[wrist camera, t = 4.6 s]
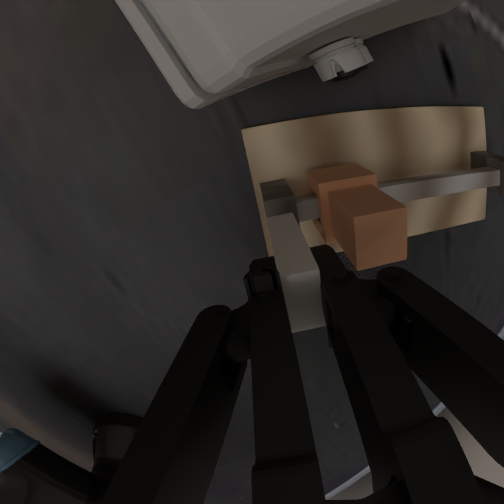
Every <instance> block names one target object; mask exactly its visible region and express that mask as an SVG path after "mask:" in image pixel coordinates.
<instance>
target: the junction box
mask: <svg viewBox="0 0 504 504" xmlns="http://www.w3.org/2000/svg"><path fill="white" fill-rule="evenodd" d="M463 1H464V0H115V2H116V3H117V5H118V6H119V8H120V9H121V11H122V12H123V14H124V15H125V17H126V18H127V20H128V21H129V23H130V24H131V26H132V27H133V29H134V30H135V32H136V34H137V35H138V37H139V38H140V40H141V41H142V43H143V44H144V46H145V47H146V49H147V51H148V52H149V54H150V55H151V57H152V58H153V60H154V61H155V63H156V65H157V66H158V68H159V69H160V71H161V72H162V74H163V76H164V77H165V79H166V80H167V82H168V83H169V85H170V87H171V88H172V90H173V91H174V93H175V94H176V96H177V97H178V98H179V99H180V100H181V102H182V103H183V104H184V105H186V106H187V107H189V108H193V109H201V108H203V107H206V106H208V105H210V104H212V103H215V102H217V101H219V100H221V99H224V98H226V97H228V96H231V95H233V94H236V93H238V92H241V91H243V90H246V89H248V88H251V87H253V86H256V85H259V84H261V83H264V82H267V81H269V80H272V79H275V78H278V77H281V76H284V75H287V74H290V73H293V72H296V71H299V70H302V69H305V68H308V67H310V66H312V65H313V66H314V67H315V69H316V71H317V73H318V74H319V76H320V78H321V80H322V82H324V81H327V80H329V79H331V80H332V81H333V82H340V81H344V80H347V79H349V78H351V77H354V76H355V75H357V74H359V73H360V72H361V71H363V70H365V69H366V68H367V67H368V65H367V64H368V63H369V62H371V61H374V60H373V58H372V56H371V54H370V53H369V51H368V49H367V47H366V46H364V45H363V43H364V42H363V40H365V39H368V38H370V37H373V36H375V35H378V34H381V33H384V32H386V31H389V30H392V29H395V28H398V27H401V26H404V25H407V24H410V23H413V22H416V21H420V20H423V19H426V18H430V17H433V16H437V15H441V14H445V13H448V12H449V11H450V10H452V9H453V8H455V7H456V6H457V5H459V4H460V3H461V2H463Z"/></svg>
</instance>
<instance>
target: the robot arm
mask: <svg viewBox="0 0 504 504" xmlns="http://www.w3.org/2000/svg"><path fill="white" fill-rule="evenodd" d="M266 221H267V225H268V230H269V235H270V240H271V245H272V249H273V254H274V256H270V257H265V258H261V259H256V260H253V261H252V263H251V264H250V266H249V268H250V271H249V272H248V273H247V274H246V275H245V276H244V283H245V287H246V291H247V294H248V302H247V303H246V304H244V305H243V306H241V307H239V308H237V309H235V310H232V311H231V310H230V308H229V307H227V306H225V305H214V306H210V307H208V308H206V309H204V310H203V311H201V312H200V313H199V315H198V316H197V318H196V320H195V321H194V323H193V325H192V327H191V329H190V331H189V333H188V334H187V336H186V338H185V340H184V342H183V344H182V346H181V348H180V349H179V351H178V353H177V355H176V357H175V359H174V361H173V363H172V365H171V366H170V368H169V370H168V372H167V374H166V376H165V378H164V380H163V382H162V384H161V385H160V387H159V389H158V391H157V393H156V395H155V397H154V399H153V401H152V403H151V405H150V407H149V408H148V410H147V412H146V414H145V416H144V418H143V419H142V418H139V417H135V416H130V415H124V414H107V415H103V416H101V417H99V418H98V419H97V420H96V423H95V425H94V428H93V432H92V437H93V455H94V465H93V469H92V472H89V471H87V470H85V469H83V468H81V467H79V466H77V465H75V464H74V463H72V462H70V461H68V460H67V459H65V458H63V457H61V456H60V455H58V454H56V453H55V452H53V451H51V450H50V449H48V448H47V447H45V446H44V445H42V444H40V441H38V440H34V439H33V438H31V437H29V436H28V435H26V434H25V433H23V432H21V431H20V430H18V429H15V428H9V429H7V430H5V431H4V432H3V434H2V435H1V436H0V504H203V503H204V500H205V497H206V494H207V491H208V488H209V485H210V482H211V479H212V476H213V473H214V470H215V466H216V463H217V460H218V457H219V454H220V451H221V448H222V445H223V442H224V438H225V435H226V432H227V429H228V426H229V422H230V419H231V416H232V413H233V410H234V406H235V403H236V400H237V396H238V393H239V390H240V387H241V383H242V380H243V377H244V373H245V370H246V367H247V360H248V359H250V358H251V369H252V391H253V412H254V433H255V454H256V462H255V465H254V466H253V467H252V503H253V504H504V488H503V487H500V486H498V485H496V484H493V483H491V482H489V481H486V480H484V479H482V478H480V477H478V476H475V475H474V474H473V472H472V470H471V467H470V465H469V463H468V460H467V458H466V456H465V454H464V452H463V449H462V447H461V446H460V443H459V441H458V439H457V437H456V435H455V433H454V431H453V429H452V427H451V425H450V424H449V422H448V420H446V419H445V418H444V417H436V416H435V415H434V414H433V412H432V410H431V408H430V406H429V404H428V402H427V400H426V398H425V396H424V394H423V392H422V390H421V388H420V386H419V385H418V383H417V381H416V379H415V377H414V375H413V373H412V371H413V372H414V373H415V374H416V375H417V376H418V377H419V378H420V379H421V380H422V381H423V382H424V383H425V385H426V386H427V387H428V388H429V389H430V390H431V391H432V392H433V393H434V394H435V395H436V396H437V397H438V398H439V400H440V401H441V402H442V403H443V404H444V405H445V406H446V407H447V408H448V409H449V410H450V411H451V412H452V414H453V415H454V416H455V417H456V418H457V419H458V420H459V421H460V422H461V423H462V425H463V426H464V427H465V428H466V429H467V430H468V431H469V432H470V433H471V435H472V436H473V437H474V438H475V439H476V440H477V441H478V442H479V444H480V445H481V446H482V447H483V448H484V449H485V450H486V452H487V453H488V454H489V455H490V456H491V457H492V458H493V459H494V460H495V461H496V462H497V463H498V464H500V465H501V466H502V467H504V340H502V339H501V338H500V337H499V336H497V335H496V334H495V333H493V332H492V331H491V330H490V329H488V328H487V327H486V326H484V325H483V324H482V323H480V322H479V321H478V320H476V319H475V318H474V317H472V316H471V315H470V314H468V313H467V312H465V311H464V310H463V309H461V308H460V307H459V306H457V305H456V304H454V303H453V302H452V301H450V300H449V299H448V298H446V297H445V296H443V295H442V294H440V293H439V292H438V291H436V290H435V289H433V288H432V287H430V286H429V285H428V284H426V283H425V282H423V281H422V280H420V279H419V278H417V277H416V276H414V275H413V274H411V273H410V272H408V271H407V270H405V269H403V268H400V267H387V268H384V269H382V270H380V271H379V272H378V273H377V279H371V280H363V279H358V278H357V276H356V275H355V274H354V273H353V272H352V271H349V270H346V268H345V267H344V265H343V264H342V262H341V260H340V259H339V257H338V255H337V254H336V252H335V251H334V249H333V248H332V247H330V246H329V245H327V244H324V245H319V246H314V247H309V246H308V244H307V242H306V240H305V237H304V235H303V233H302V231H301V229H300V227H299V225H298V223H297V221H296V219H295V217H294V215H293V213H287V214H283V215H278V216H273V217H268V218H266ZM407 316H408V317H407ZM325 320H326V322H327V330H328V341H329V347H333V350H334V353H335V356H336V359H337V362H338V365H339V368H340V371H341V374H342V378H343V381H344V384H345V387H346V390H347V393H348V396H349V399H350V403H351V406H352V409H353V412H354V416H355V419H356V422H357V425H358V429H359V432H360V435H361V439H362V442H363V446H364V449H365V453H366V456H367V459H368V463H369V467H370V470H371V474H372V483H373V492H374V493H373V494H371V495H369V496H367V497H366V498H363V499H358V500H325V495H324V489H323V484H322V478H321V473H320V467H319V462H318V458H317V454H316V449H315V444H314V439H313V434H312V428H311V423H310V418H309V413H308V408H307V403H306V398H305V393H304V388H303V383H302V378H301V373H300V369H299V364H298V359H297V354H296V349H295V345H294V340H293V335H292V333H295V332H300V331H304V330H309V329H313V328H318V327H322V326H325ZM411 370H412V371H411Z"/></svg>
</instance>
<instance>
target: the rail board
mask: <svg viewBox="0 0 504 504" xmlns="http://www.w3.org/2000/svg"><path fill="white" fill-rule="evenodd" d="M241 132H242V136H243V140H244V145H245V149H246V154H247V158H248V163H249V167H250V172H251V176H252V181H253V185H254V190H255V195H256V199H257V204H258V208H259V213H260V218H261V222H262V227H263V232H264V236H265V241H266V246H267V251H268V255H269V257H270V256H274V254H273V249H272V245H271V240H270V235H269V230H268V225H267V221H266V218H268V217H273V216H278V215H283V214H287V213H293V215H294V217H295V219H296V221H297V223H298V225H299V227H300V229H301V231H302V233H303V235H304V237H305V240H306V242H307V244H308V246H309V247H314V246H319V245H324V244H326V243H325V242H324V240H323V238H322V237H321V235H320V233H319V232H318V230H317V228H316V227H315V225H314V224H313V219H318V218H320V213H319V206H318V199H317V195H316V193H314V194H309V192H308V186H307V180H306V174H305V171H311V170H317V169H322V168H328V167H334V166H340V165H347V164H353V163H356V164H358V165H360V166H362V167H364V168H366V169H368V170H370V171H372V172H374V173H376V174H377V184H378V189H380V190H381V191H383V192H384V193H386V194H387V195H389V196H391V197H392V198H394V199H395V200H397V201H398V202H400V203H401V204H403V205H404V206H406V207H407V237H410V236H414V235H418V234H423V233H427V232H432V231H436V230H440V229H445V228H449V227H453V226H457V225H462V224H466V223H470V222H474V221H478V220H483V219H485V212H486V191H487V188H488V189H490V190H492V191H494V192H496V193H498V194H500V195H503V196H504V157H502V156H499V155H496V154H492V153H489V152H486V132H485V119H484V109H483V107H477V106H422V107H400V108H385V109H372V110H361V111H352V112H343V113H334V114H327V115H319V116H312V117H306V118H299V119H293V120H287V121H281V122H276V123H270V124H265V125H260V126H255V127H250V128H245V129H241ZM327 245H329V246H330V247H332V248H333V249H334V251H335V252H336V253H337V252H342V251H343V249H342V248H341V246H340V245H339V243H338V242H337V243H332V244H327Z"/></svg>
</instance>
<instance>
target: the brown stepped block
mask: <svg viewBox="0 0 504 504" xmlns="http://www.w3.org/2000/svg"><path fill="white" fill-rule="evenodd" d="M305 174H306V180H307V186H308V192H309V194H314V193H316V195H317V199H318V206H319V213H320V218H318V219H313V224H314V225H315V227H316V228H317V230H318V232H319V233H320V235H321V237H322V238H323V240H324V242H325V243H326V244H332V243H337V242H338V243H339V245H340V246H341V248H342V249H343V251H344V252H345V254H346V255H347V257H348V258H349V260H350V261H351V263H352V264H353V266H354V267H355V269H356V270H357V271H360V270H364V269H368V268H373V267H377V266H381V265H385V264H389V263H393V262H398V261H402V260H406V259H407V207H406V206H404V205H403V204H401V203H400V202H398V201H397V200H395V199H394V198H392V197H391V196H389V195H387V194H386V193H384V192H383V191H381V190H380V189H378V184H377V174H376V173H374V172H372V171H370V170H368V169H366V168H364V167H362V166H360V165H358V164H356V163H353V164H347V165H340V166H334V167H328V168H322V169H317V170H311V171H305Z"/></svg>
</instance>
